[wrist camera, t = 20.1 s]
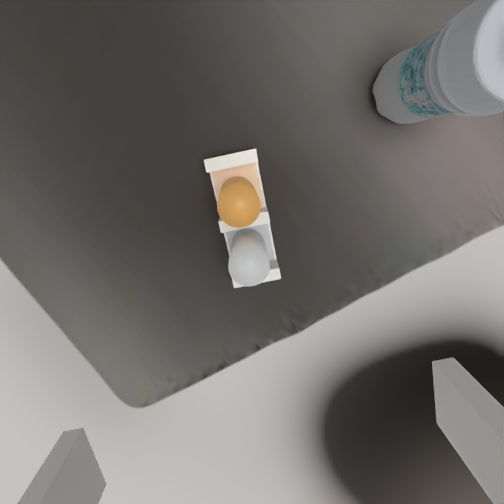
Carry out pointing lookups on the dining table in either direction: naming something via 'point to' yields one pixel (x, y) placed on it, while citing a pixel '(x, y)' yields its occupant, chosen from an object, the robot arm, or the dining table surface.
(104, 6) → the dining table surface
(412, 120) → the bottle
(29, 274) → the dining table surface
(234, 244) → the grey plug
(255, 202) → the orange plug
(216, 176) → the rack
